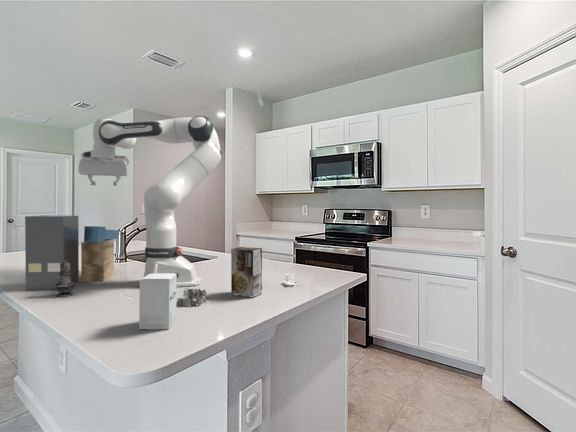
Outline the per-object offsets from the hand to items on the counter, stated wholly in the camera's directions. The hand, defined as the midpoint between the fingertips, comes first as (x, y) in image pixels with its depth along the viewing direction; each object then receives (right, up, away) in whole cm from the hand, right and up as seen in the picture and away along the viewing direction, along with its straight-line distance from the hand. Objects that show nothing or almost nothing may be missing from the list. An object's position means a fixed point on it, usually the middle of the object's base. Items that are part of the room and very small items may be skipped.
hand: (104, 185), depth 150 cm
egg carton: (+54, -42, -45) cm, 82 cm away
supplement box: (+51, -42, -65) cm, 93 cm away
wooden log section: (+5, -40, -14) cm, 42 cm away
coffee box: (+69, -41, -36) cm, 88 cm away
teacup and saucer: (+82, -42, -21) cm, 94 cm away
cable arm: (+5, -22, -13) cm, 26 cm away
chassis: (-3, -40, -28) cm, 49 cm away
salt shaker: (+9, -41, -40) cm, 58 cm away
